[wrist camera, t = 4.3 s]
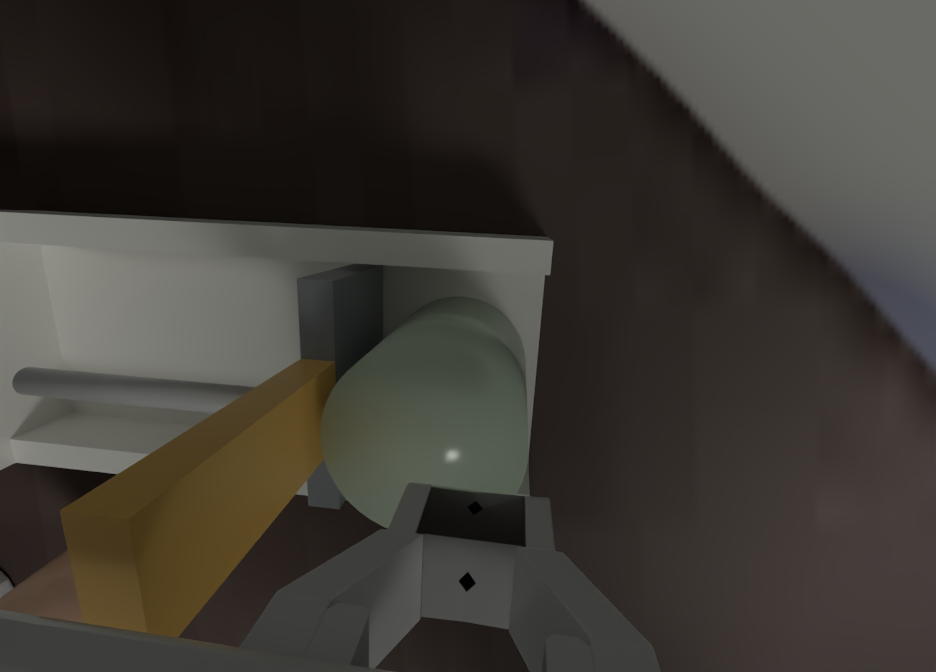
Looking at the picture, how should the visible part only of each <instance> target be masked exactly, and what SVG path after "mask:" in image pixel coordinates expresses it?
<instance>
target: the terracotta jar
mask: <svg viewBox="0 0 936 672" xmlns="http://www.w3.org/2000/svg"><path fill="white" fill-rule="evenodd" d="M0 610H5V611H12V612H18V613H24V614H31V615H37V616H43V617H50V618H56V619H62V620H69V621H75V622H81V623H84V622H83V618H82V613H81V608H80V604H79V599H78V595H77V590H76V585H75V581H74V576H73V571H72V567H71V562H70V557H69V553H68V549H67V550H66V551H64V552H63V553H61V554H60V555H59V556H57V557H56V558H55V559H53V560H52V561H50V562H49V563H48V564H46V565H45V566H44V567H42V568H41V569H39V570H38V571H37V572H35V573H34V574H33V575H31V576H30V577H28V578H27V579H26V580H24V581H23V582H22V583H20V584H19V585H17V586H16V587H15V588H13V589H12V590H11V591H9V592H8V593H6V594H5V595H4V596H2V597H1V598H0Z"/></svg>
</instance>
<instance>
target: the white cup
mask: <svg viewBox="0 0 936 672" xmlns="http://www.w3.org/2000/svg"><path fill="white" fill-rule="evenodd" d="M13 588H14V586H13V585H12V583H11V581H10V580H9V578H8V577H7V576H6V575H5V574H4V573H3V572H2V571H1V570H0V598H1V597H2V596H4V595H5V594H6V593H8V592H9V591H11V590H12V589H13Z"/></svg>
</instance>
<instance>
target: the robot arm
mask: <svg viewBox="0 0 936 672" xmlns="http://www.w3.org/2000/svg"><path fill="white" fill-rule="evenodd" d="M420 617H427V618H436V619H445V620H454V621H462V622H469V623H474V624H480V625H486V626H491V627H497V628H503V629H509V633H510V635H511V637H512V639H513V641H514V643H515V644H516V646H517V648H518V650H519V652H520V654H521V656H522V658H523V660H524V662H525V664H526V665H527V667H528V669H529V671H530V672H661V671H660V668H659V664H658V661H657V658H656V655H655V652H654V648H653V646H652V645H651V644H650V643H649V642H648V641H647V640H646V639H645V638H644V637H643V636H642V635H641V633H640V632H639V631H638V630H637V629H636V628H635V627H634V626H633V625H632V624H631V623H630V622H629V621H628V620H627V619H626V618H625V617H624V616H623V615H622V614H621V613H620V612H619V610H618V609H617V608H616V607H615V606H614V605H613V604H612V603H611V602H610V601H609V600H608V599H607V598H606V597H605V596H604V595H603V594H602V593H601V592H600V591H599V590H598V589H597V587H596V586H595V585H594V584H593V583H592V582H591V581H590V580H589V579H588V578H587V577H586V576H585V575H584V574H583V573H582V572H581V571H580V570H579V569H578V568H577V567H576V565H575V564H574V563H573V562H572V561H571V560H570V559H569V558H568V557H567V556H566V555H565V554H564V553H563V552H558V551H555V542H554V533H553V524H552V515H551V506H550V500H549V499H548V498H546V497H534V496H525V497H524V496H518V495H508V494H497V493H486V492H478V491H475V490H467V489H460V488H453V487H446V486H438V485H433V486H432V485H431V484H423V483H414V482H410V483H409V484H408V485H407V486H406V488H405V490H404V493H403V495H402V497H401V500H400V502H399V504H398V507H397V509H396V511H395V514H394V516H393V518H392V521H391V523H390V525H389V528H388V530H385V529H380V530H378V531H377V532H375V533H373V534H372V535H370V536H368V537H367V538H365V539H363V540H362V541H360V542H358V543H357V544H355V545H353V546H352V547H350V548H348V549H347V550H345V551H343V552H342V553H340V554H338V555H337V556H335V557H333V558H332V559H330V560H328V561H327V562H325V563H323V564H322V565H320V566H318V567H317V568H315V569H313V570H312V571H310V572H308V573H307V574H305V575H303V576H302V577H300V578H298V579H297V580H295V581H293V582H291V583H290V584H288V585H286V586H285V587H283V588H281V589H280V590H278V591H277V592H276V593H275V595H274V596H273V598H272V599H271V601H270V602H269V604H268V605H267V607H266V608H265V610H264V611H263V613H262V614H261V616H260V617H259V619H258V620H257V622H256V623H255V625H254V626H253V628H252V629H251V631H250V632H249V634H248V635H247V637H246V638H245V640H244V641H243V643H242V644H241V646H240V647H233V646H227V645H221V644H214V643H208V642H202V641H195V640H189V639H183V638H176V637H170V636H164V635H157V634H151V633H145V632H138V631H132V630H126V629H119V628H113V627H107V626H100V625H94V624H88V623H81V622H75V621H69V620H62V619H56V618H50V617H43V616H37V615H31V614H24V613H18V612H12V611H5V610H0V672H393V671H386V670H380V669H374V668H375V667H376V666H377V665H378V664H379V663H380V662H381V661H382V660H383V659H384V658H385V657H386V656H387V655H388V653H389V652H390V651H391V650H392V649H393V648H394V647H395V646H396V645H397V644H398V643H399V642H400V641H401V640H402V638H403V637H404V636H405V635H406V634H407V633H408V632H409V631H410V630H411V629H412V628H413V627H414V626H415V625H416V623H417V622H418V621H419V620H420Z"/></svg>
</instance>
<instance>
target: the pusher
mask: <svg viewBox="0 0 936 672" xmlns="http://www.w3.org/2000/svg"><path fill="white" fill-rule="evenodd" d="M297 295H298V314H299V334H300V353H301V359H300V360H298V361H296V362H295V363H293V364H292V365H290V366H288V367H287V368H285V369H284V370H282V371H280V372H279V373H277V374H276V375H274V376H273V377H271V378H269V379H268V380H266V381H265V382H263V383H261V384H260V385H258V386H257V387H249V386H238V385H227V384H216V383H205V382H193V381H182V380H171V379H160V378H149V377H138V376H126V375H115V374H104V373H93V372H82V371H71V370H59V369H48V368H37V367H26V368H23V369H21V370H19V371H18V372H17V373H16V374H15V376H14V378H13V381H12V385H13V388H14V390H15V391H16V392H17V393H19V394H21V395H29V396H40V397H50V398H60V399H71V400H81V401H91V402H102V403H112V404H123V405H133V406H143V407H154V408H164V409H174V410H185V411H195V412H205V413H214V414H212V415H211V416H209V417H208V418H206V419H204V420H203V421H201V422H200V423H198V424H196V425H195V426H193V427H192V428H190V429H189V430H187V431H185V432H184V433H182V434H181V435H179V436H177V437H176V438H174V439H173V440H171V441H169V442H168V443H166V444H165V445H163V446H162V447H160V448H158V449H157V450H155V451H154V452H152V453H150V454H149V455H147V456H146V457H144V458H143V459H141V460H139V461H138V462H136V463H135V464H133V465H131V466H130V467H128V468H127V469H125V470H123V471H122V472H120V473H119V474H117V475H116V476H114V477H112V478H111V479H109V480H108V481H106V482H104V483H103V484H101V485H100V486H98V487H97V488H95V489H93V490H92V491H90V492H89V493H87V494H85V495H84V496H82V497H81V498H79V499H78V500H76V501H74V502H73V503H71V504H70V505H68V506H66V507H65V508H63V509H62V510H60V516H61V520H62V525H63V530H64V534H65V539H66V544H67V548H68V553H69V557H70V562H71V567H72V571H73V576H74V581H75V585H76V590H77V595H78V599H79V604H80V608H81V613H82V618H83V622H84V623H88V624H94V625H100V626H107V627H113V628H119V629H126V630H132V631H138V632H145V633H151V634H157V635H164V636H170V637H176V638H178V636H179V635H180V634H181V633H182V632H183V630H184V629H185V628H186V627H187V625H188V624H189V623H190V622H191V621H192V619H193V618H194V617H195V616H196V614H197V613H198V612H199V611H200V610H201V608H202V607H203V606H204V605H205V604H206V602H207V601H208V600H209V599H210V597H211V596H212V595H213V594H214V593H215V591H216V590H217V589H218V588H219V587H220V585H221V584H222V583H223V582H224V580H225V579H226V578H227V577H228V576H229V574H230V573H231V572H232V571H233V569H234V568H235V567H236V566H237V565H238V563H239V562H240V561H241V560H242V559H243V557H244V556H245V555H246V554H247V552H248V551H249V550H250V549H251V548H252V546H253V545H254V544H255V543H256V541H257V540H258V539H259V538H260V537H261V535H262V534H263V533H264V532H265V531H266V529H267V528H268V527H269V526H270V524H271V523H272V522H273V521H274V520H275V518H276V517H277V516H278V515H279V513H280V512H281V511H282V510H283V509H284V507H285V506H286V505H287V504H288V503H289V501H290V500H291V499H292V498H293V496H294V495H295V494H296V493H297V492H298V490H299V489H300V488H301V487H302V485H303V484H304V483H305V482H306V481H307V490H308V506H315V507H324V508H332V509H340V508H341V506H342V505H343V503H344V502H345V500H346V498H345V497H344V496H343V495H342V493H341V492H340V490H339V489H338V487H337V486H336V485H335V483H334V481H333V479H332V477H331V476H330V474H329V471H328V469H327V466H326V464H325V461H324V457H323V453H322V448H321V439H320V430H321V420H322V414H323V410H324V407H325V404H326V401H327V399H328V397H329V395H330V393H331V391H332V389H333V388H334V386H335V385H336V384H337V382H338V381H339V379H340V378H341V377H342V376H343V375H344V374H345V373H346V372H347V371H348V370H349V369H350V368H351V367H352V366H354V365H355V364H356V363H357V362H358V361H359V360H360V359H362V358H363V357H364V356H365V355H366V354H367V353H369V352H370V351H371V350H372V349H373V348H374V347H375V346H377V345H378V344H379V343H380V342H381V341H382V340H383V265H372V264H351V265H347V266H343V267H339V268H335V269H332V270H328V271H324V272H320V273H316V274H313V275H309V276H305V277H301V278H297Z"/></svg>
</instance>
